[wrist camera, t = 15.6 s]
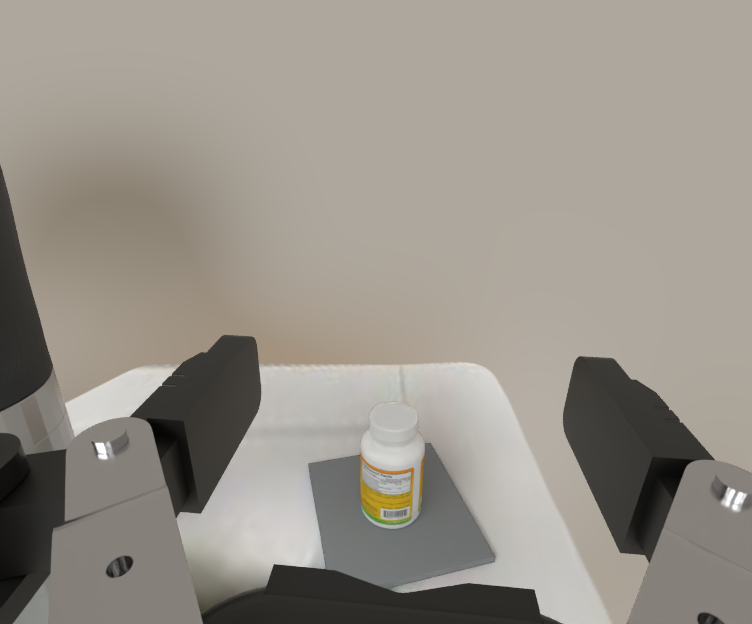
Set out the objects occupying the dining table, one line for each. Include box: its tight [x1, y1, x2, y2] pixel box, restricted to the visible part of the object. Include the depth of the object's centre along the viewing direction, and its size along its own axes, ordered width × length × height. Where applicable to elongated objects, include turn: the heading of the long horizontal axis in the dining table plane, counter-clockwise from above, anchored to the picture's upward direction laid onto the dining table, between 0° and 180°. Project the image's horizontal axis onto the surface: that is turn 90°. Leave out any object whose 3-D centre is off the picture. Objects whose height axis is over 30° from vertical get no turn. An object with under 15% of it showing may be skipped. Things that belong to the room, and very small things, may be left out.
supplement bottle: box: [360, 402, 425, 529], centre depth 38 cm, size 5×5×10 cm
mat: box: [309, 443, 495, 589], centre depth 40 cm, size 13×14×1 cm
